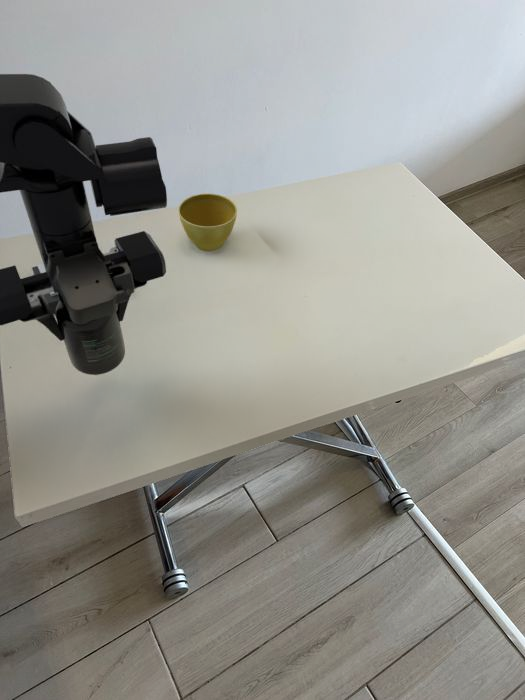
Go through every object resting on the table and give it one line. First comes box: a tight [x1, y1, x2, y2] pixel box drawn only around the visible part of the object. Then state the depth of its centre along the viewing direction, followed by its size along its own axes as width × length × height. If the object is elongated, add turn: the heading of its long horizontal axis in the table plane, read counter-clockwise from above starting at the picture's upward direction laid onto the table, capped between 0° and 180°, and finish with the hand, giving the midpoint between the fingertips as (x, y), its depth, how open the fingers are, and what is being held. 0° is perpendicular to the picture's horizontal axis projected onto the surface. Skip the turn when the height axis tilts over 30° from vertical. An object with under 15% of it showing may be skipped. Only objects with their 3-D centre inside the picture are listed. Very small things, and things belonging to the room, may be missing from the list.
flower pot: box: [178, 193, 238, 252], centre depth 94 cm, size 10×10×7 cm
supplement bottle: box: [54, 291, 126, 376], centre depth 63 cm, size 7×7×12 cm
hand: (90, 328), depth 64 cm, fingers closed on supplement bottle, 7 cm apart
